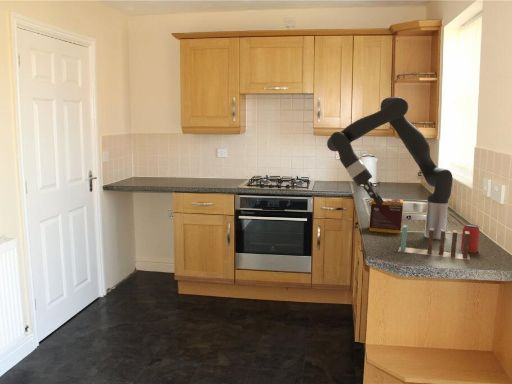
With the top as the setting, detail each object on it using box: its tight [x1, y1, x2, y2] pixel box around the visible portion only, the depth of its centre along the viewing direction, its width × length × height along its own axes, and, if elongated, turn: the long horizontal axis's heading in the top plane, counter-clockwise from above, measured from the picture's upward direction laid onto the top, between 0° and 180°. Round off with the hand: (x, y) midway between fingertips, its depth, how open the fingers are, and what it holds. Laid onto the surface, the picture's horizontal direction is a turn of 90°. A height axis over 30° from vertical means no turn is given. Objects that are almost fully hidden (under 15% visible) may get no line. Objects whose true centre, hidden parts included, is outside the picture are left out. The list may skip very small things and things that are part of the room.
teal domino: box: [400, 224, 408, 251], centre depth 208 cm, size 2×5×10 cm, turn 159°
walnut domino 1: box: [427, 228, 434, 254], centre depth 204 cm, size 2×5×10 cm, turn 159°
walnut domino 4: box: [462, 231, 470, 258], centre depth 199 cm, size 2×5×10 cm, turn 159°
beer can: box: [460, 223, 480, 253], centre depth 210 cm, size 7×7×12 cm
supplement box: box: [368, 197, 404, 234], centre depth 249 cm, size 10×15×16 cm
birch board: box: [398, 246, 471, 261], centre depth 204 cm, size 28×8×1 cm, turn 69°
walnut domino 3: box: [450, 229, 458, 257], centre depth 201 cm, size 2×5×10 cm, turn 159°
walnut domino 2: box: [438, 229, 446, 257], centre depth 202 cm, size 2×5×10 cm, turn 159°
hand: (381, 204), depth 210 cm, fingers open, 8 cm apart
